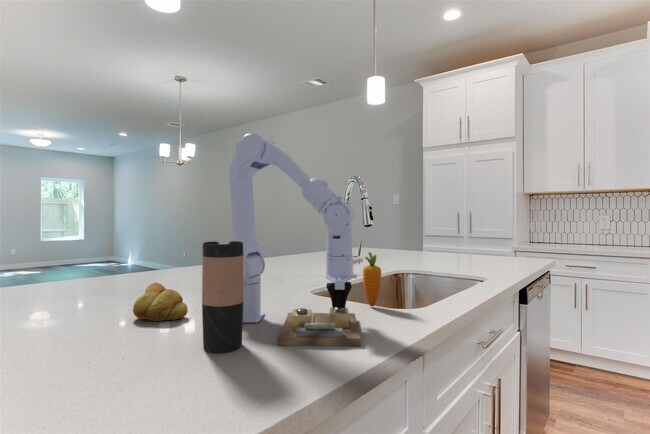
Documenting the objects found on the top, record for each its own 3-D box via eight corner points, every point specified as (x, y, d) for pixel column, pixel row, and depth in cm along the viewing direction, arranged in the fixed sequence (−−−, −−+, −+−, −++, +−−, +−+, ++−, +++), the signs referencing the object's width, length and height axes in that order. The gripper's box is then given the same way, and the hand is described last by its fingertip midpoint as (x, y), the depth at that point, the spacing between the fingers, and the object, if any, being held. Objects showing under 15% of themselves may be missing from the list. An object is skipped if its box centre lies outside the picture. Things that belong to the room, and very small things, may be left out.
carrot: (380, 310, 99) (380, 253, 99) (361, 309, 100) (362, 253, 100) (381, 305, 104) (381, 251, 104) (363, 304, 105) (363, 251, 105)
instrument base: (278, 345, 72) (278, 325, 72) (288, 318, 90) (288, 302, 90) (360, 346, 72) (360, 326, 72) (354, 319, 90) (354, 303, 90)
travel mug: (221, 357, 66) (221, 244, 66) (193, 348, 70) (193, 242, 70) (251, 344, 73) (251, 242, 72) (224, 337, 77) (224, 240, 76)
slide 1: (290, 330, 77) (290, 312, 76) (293, 323, 82) (293, 306, 81) (310, 330, 76) (310, 312, 76) (311, 323, 81) (311, 306, 81)
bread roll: (196, 316, 93) (196, 284, 93) (167, 327, 84) (167, 291, 83) (155, 311, 97) (155, 280, 97) (124, 321, 88) (123, 287, 88)
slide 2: (329, 327, 78) (329, 310, 78) (329, 320, 83) (329, 304, 83) (348, 328, 78) (348, 311, 78) (347, 321, 83) (347, 305, 83)
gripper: (359, 259, 77) (358, 324, 77) (354, 252, 91) (354, 307, 92) (325, 259, 77) (324, 324, 77) (325, 251, 92) (325, 306, 92)
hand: (338, 315), depth 84 cm, fingers closed
